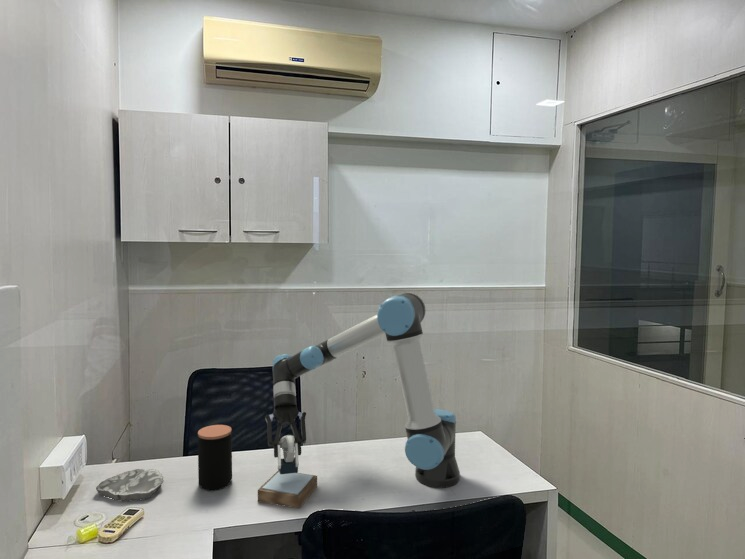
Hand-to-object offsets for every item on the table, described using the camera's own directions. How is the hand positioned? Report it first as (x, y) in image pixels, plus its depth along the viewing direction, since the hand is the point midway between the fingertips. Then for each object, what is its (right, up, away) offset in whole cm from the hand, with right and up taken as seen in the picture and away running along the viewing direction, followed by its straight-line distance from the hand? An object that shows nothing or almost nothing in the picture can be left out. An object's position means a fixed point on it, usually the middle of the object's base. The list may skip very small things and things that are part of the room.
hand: (288, 466), depth 149 cm
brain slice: (-51, -10, +6) cm, 53 cm away
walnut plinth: (-1, -10, +4) cm, 11 cm away
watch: (-1, -3, +4) cm, 5 cm away
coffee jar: (-26, -10, +10) cm, 30 cm away
